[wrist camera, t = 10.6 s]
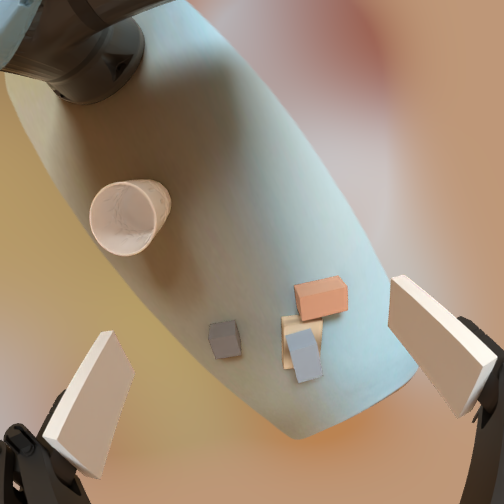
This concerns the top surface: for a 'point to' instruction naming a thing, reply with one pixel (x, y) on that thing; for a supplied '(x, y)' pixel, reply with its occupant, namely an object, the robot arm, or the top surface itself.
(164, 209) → the white cup
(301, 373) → the blue block
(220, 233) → the top surface
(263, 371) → the top surface
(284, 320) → the maple block
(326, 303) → the terracotta block
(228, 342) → the charcoal block
